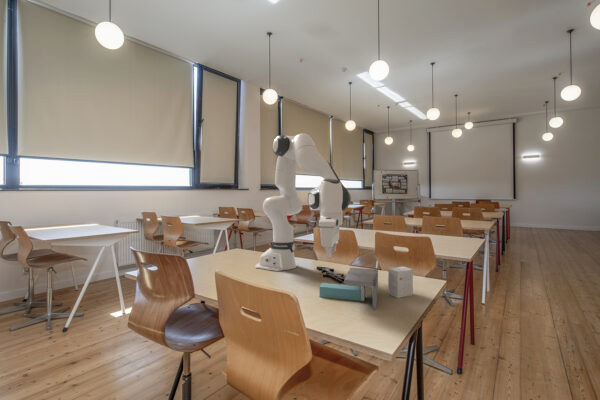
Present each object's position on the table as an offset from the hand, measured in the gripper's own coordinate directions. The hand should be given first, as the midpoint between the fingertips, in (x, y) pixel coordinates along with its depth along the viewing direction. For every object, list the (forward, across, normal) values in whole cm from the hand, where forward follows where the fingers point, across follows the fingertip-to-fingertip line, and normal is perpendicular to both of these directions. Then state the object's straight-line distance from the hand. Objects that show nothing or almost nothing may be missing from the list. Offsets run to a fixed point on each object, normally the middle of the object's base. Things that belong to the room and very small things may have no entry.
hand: (331, 254), depth 118 cm
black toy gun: (+17, -29, -5) cm, 34 cm away
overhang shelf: (+16, 0, +12) cm, 20 cm away
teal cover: (+16, 0, +4) cm, 17 cm away
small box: (+17, -9, +27) cm, 33 cm away
